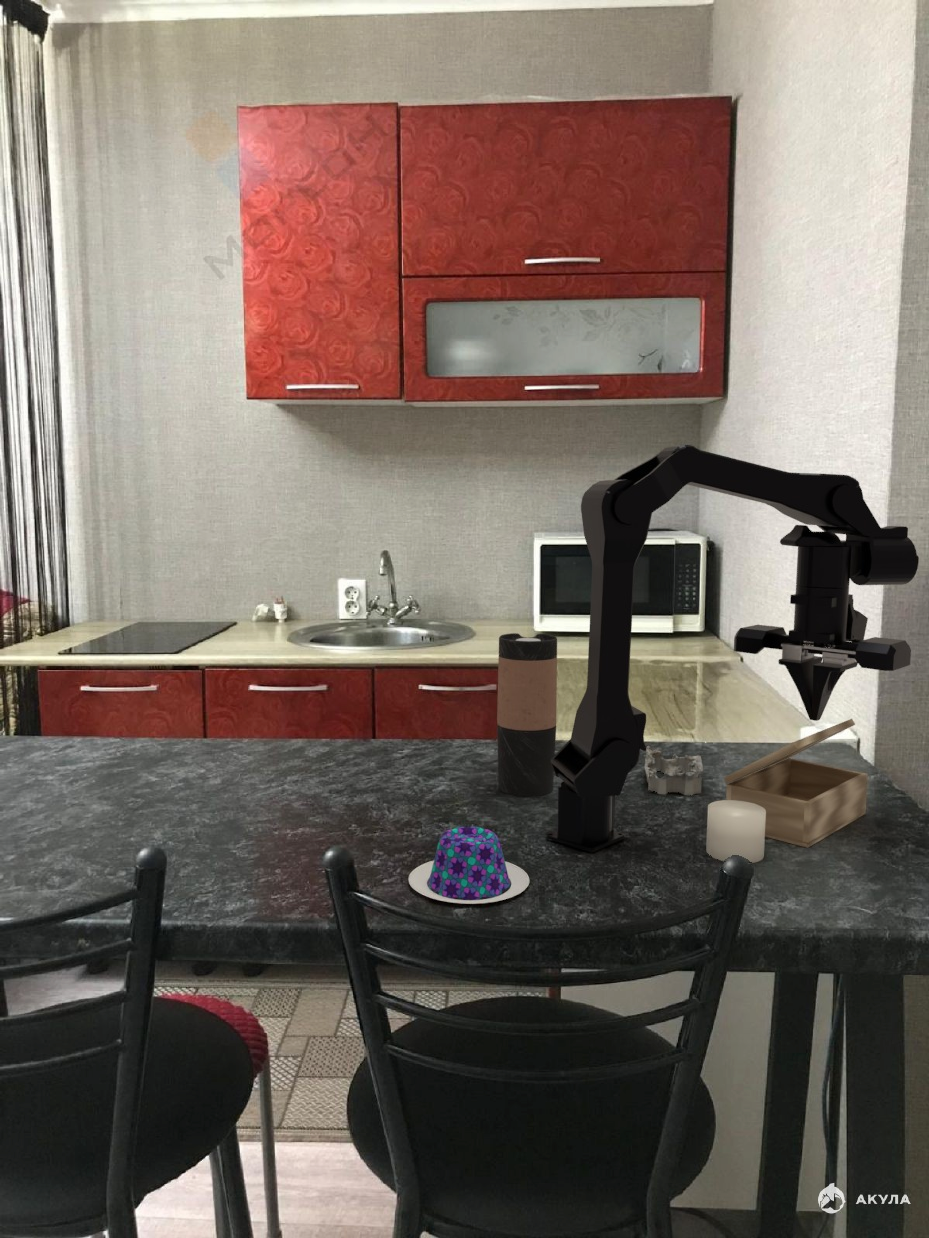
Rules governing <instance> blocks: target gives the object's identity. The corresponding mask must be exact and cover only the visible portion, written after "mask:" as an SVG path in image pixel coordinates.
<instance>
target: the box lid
mask: <svg viewBox="0 0 929 1238" xmlns="http://www.w3.org/2000/svg"><path fill="white" fill-rule="evenodd" d="M853 726H856V722H855V721H854V720H853V718H850V719H847V720H845V721H843V722H840V723H837V724H836V725H832V726H830V727H827V728H825V729H823V730H820V731H817V732H814V733H813V734H810V735H808V736H805V737H803V738H800V739H798V740H795V741H792V742H791V743H789V744H787V745H785V746H783V747H781V748H779V749H777V750H775V751H773V752H771V753H769V754H767V755H765V756H763V757H761V758H760V759H758V760H755V761H754V762H752V763H750V764H748V765H745V766H744V767H741V768H740V769H738V770H736V771H734V772H732V773H730V774H728V775H726V776H724V777H723V780H724V782H725V784H726V785H727V784H729V783H732V782H734V781H736V780H739V779H741V778H743V777H746V776H748V775H750V774H753V773H755V772H757V771H760V770H762V769H765V768H767V767H769V766H772V765H774V764H776V763H779V762H781V761H783V760H786V759H788V758H791V757H793V756H795V755H797V754H799V753H801V752H804V751H805V750H807V749H810V748H811V747H813V746H815V745H817V744H819V743H821V742H823V741H825V740H827V739H829V738H831V737H834V736H835V735H837V734H839V733H841V732H843V731H845V730H848V729H849V728H851V727H853Z"/></svg>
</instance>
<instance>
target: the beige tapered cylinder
mask: <svg viewBox="0 0 929 1238" xmlns="http://www.w3.org/2000/svg"><path fill="white" fill-rule="evenodd" d="M706 821H707V822H706V846H705V847H706V849H705V850H706V854H707V853H708V854H709V855H708V854H707V855H708V856H710V855H711V856H712V857H711V856H710V857H711V858H713V859H715V860H717V859H718V861H722V862H724V860H725V859H727V858H728V857H731V856H732V855H739V856H742V857H744V858H746V859H748V860H749V861H750V862H752V863H751V864H753V863H758V862H760V861H762V860H764V858H765V838H766V837H765V821H766V810H765V809H764V808H763V807H761V806H759V805H757V804H754V803H750V802H745V801H737V800H726V799H725V800H716V801H713V802H711V803H708V805H707V820H706Z"/></svg>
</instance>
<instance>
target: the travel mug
mask: <svg viewBox="0 0 929 1238" xmlns="http://www.w3.org/2000/svg"><path fill="white" fill-rule="evenodd" d="M497 662H498V665H497V668H498V671H497V713H496V714H497V715H496V716H497V719H496V723H497V725H496V726H497V727H496V728H497V729H496V730H497V731H496V732H497V779H498V780H497V781H498V789H499V790H500V792H503V793H505V794H508V795H511V796H517V797H539V796H540V797H541V796H544V795H548V794H549V793H551V792H553V788H554V779H555V778H554V777H555V776H554V775H555V773H554V770H553V767H552V764H551V759H552V758H553V757H554V756H555V754H556V742H557V741H556V740H557V739H556V738H557V737H556V736H557V711H558V710H557V706H558V705H557V702H558V701H557V695H558V694H557V693H558V692H557V690H558V687H557V686H558V685H557V684H558V682H557V681H558V676H557V675H558V638H557V636H555V635H552V634H548V633H547V634H546V633H537V634H536V635H534V636H531V637H530V636H528V637H526V636H522V635H521V634H520V633H516V632H512V633H506V634H501V635H500V636H499V637H498V661H497Z"/></svg>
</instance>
